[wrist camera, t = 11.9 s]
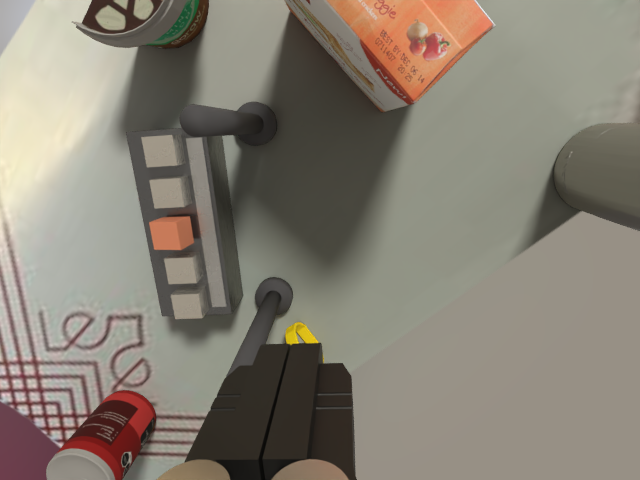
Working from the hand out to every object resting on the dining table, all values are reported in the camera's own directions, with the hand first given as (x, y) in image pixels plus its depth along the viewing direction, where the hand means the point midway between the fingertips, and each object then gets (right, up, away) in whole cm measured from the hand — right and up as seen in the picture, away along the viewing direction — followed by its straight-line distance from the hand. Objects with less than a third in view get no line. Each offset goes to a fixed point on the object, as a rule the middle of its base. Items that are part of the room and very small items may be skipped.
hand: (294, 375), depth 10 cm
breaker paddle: (-14, +5, +31) cm, 34 cm away
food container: (-13, +26, +30) cm, 42 cm away
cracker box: (+4, +23, +30) cm, 38 cm away
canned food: (-26, -21, +44) cm, 55 cm away
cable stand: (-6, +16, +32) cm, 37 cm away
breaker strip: (-13, +6, +36) cm, 39 cm away
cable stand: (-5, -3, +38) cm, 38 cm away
